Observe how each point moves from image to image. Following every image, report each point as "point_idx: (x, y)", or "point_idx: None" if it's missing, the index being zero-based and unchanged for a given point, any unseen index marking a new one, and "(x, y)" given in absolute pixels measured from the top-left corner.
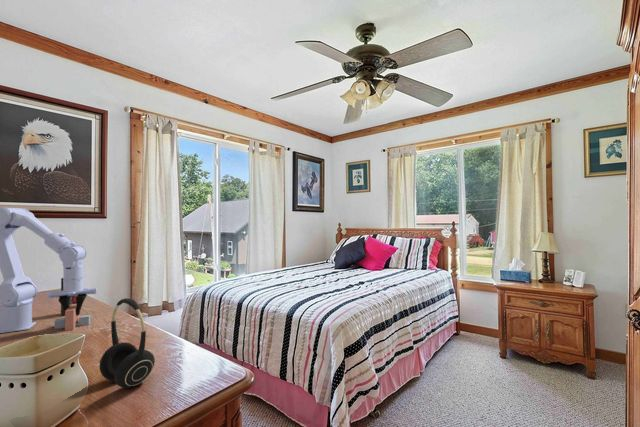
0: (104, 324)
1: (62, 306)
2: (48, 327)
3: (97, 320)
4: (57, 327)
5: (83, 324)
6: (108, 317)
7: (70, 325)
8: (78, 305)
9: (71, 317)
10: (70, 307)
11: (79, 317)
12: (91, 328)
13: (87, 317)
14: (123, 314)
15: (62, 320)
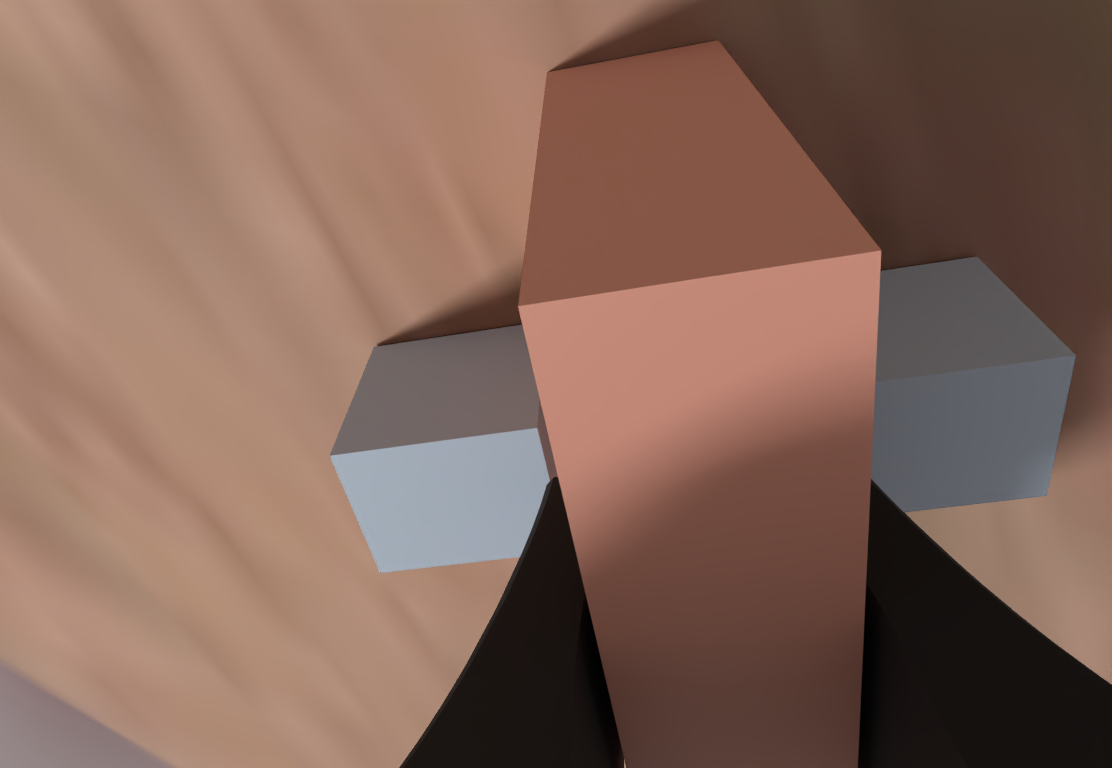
0: (23, 261)
1: (1107, 682)
2: (1106, 406)
3: (346, 542)
4: (935, 276)
5: (463, 344)
6: (244, 635)
7: (612, 89)
8: (510, 707)
9: (597, 169)
10: (803, 696)
11: (532, 445)
12: (135, 27)
13: (363, 442)
14: (85, 703)
15: (890, 369)
